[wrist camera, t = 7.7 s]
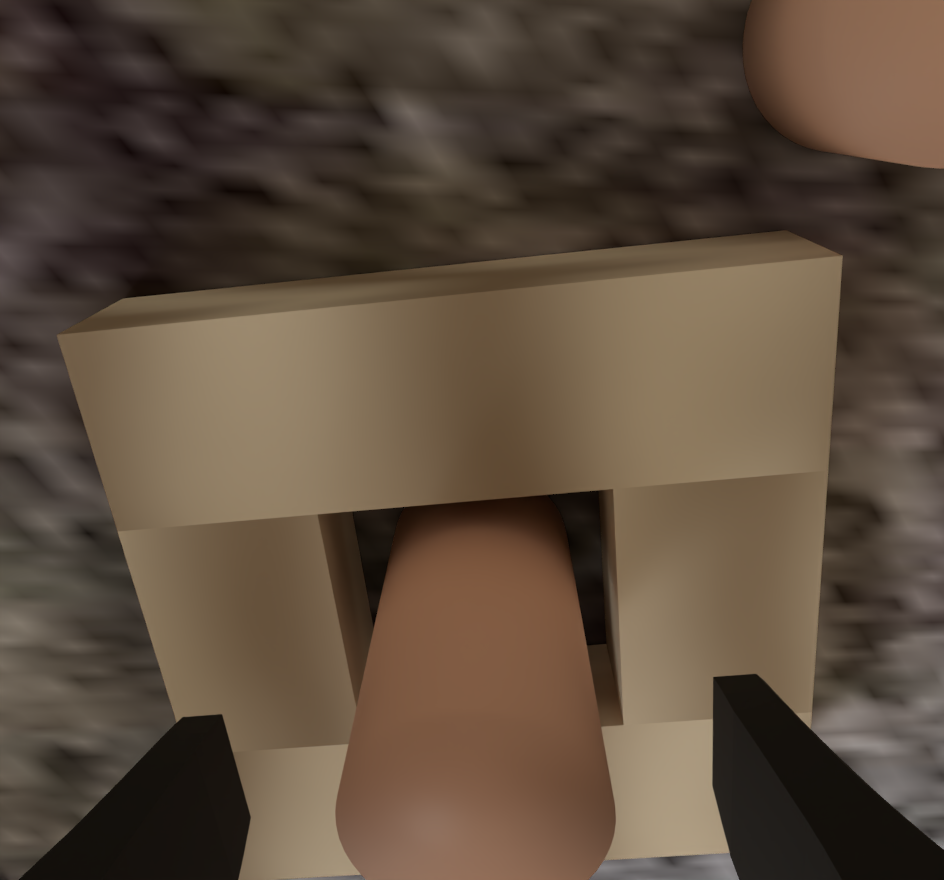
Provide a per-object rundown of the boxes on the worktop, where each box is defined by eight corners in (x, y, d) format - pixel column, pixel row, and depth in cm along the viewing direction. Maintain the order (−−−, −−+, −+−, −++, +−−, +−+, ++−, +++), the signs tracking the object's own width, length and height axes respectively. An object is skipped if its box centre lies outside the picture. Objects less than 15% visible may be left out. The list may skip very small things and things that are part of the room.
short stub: (740, 163, 14) (815, 183, 11) (744, -81, 13) (831, -143, 9) (956, 139, 14) (1100, 152, 11) (984, -112, 12) (1158, -185, 9)
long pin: (413, 629, 18) (369, 932, 11) (376, 482, 16) (304, 731, 10) (578, 607, 17) (629, 905, 11) (555, 455, 16) (598, 692, 10)
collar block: (257, 790, 20) (226, 882, 17) (123, 298, 15) (56, 334, 13) (764, 756, 19) (802, 848, 17) (785, 230, 14) (843, 255, 12)
